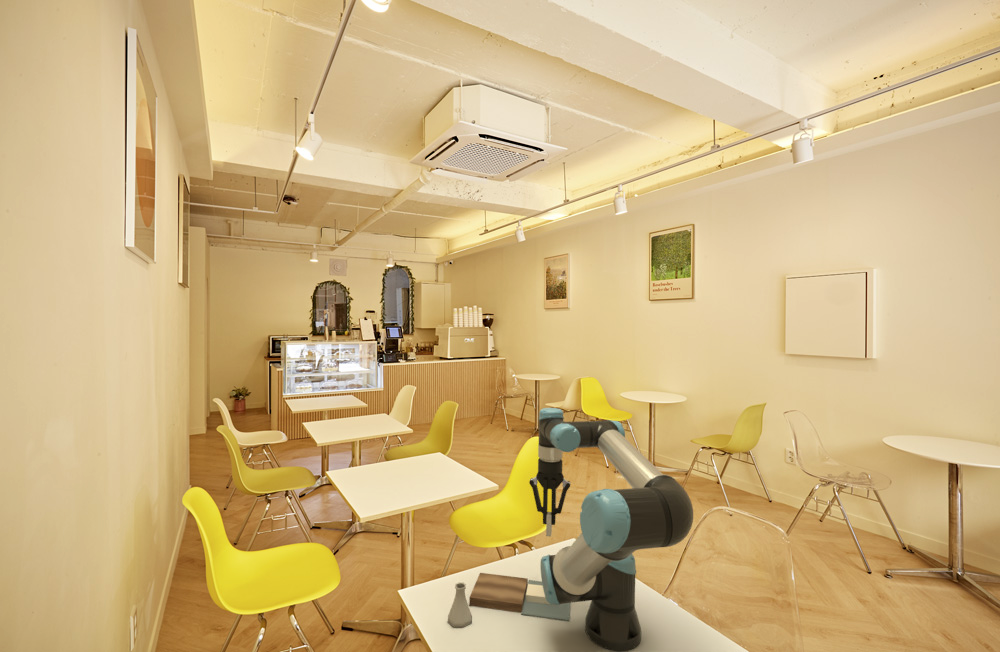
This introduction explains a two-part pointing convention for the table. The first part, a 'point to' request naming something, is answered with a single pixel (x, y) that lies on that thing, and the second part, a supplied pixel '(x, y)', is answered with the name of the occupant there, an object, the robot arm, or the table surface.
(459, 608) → the flask
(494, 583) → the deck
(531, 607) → the mat
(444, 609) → the table surface
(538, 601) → the cream rectangular block
